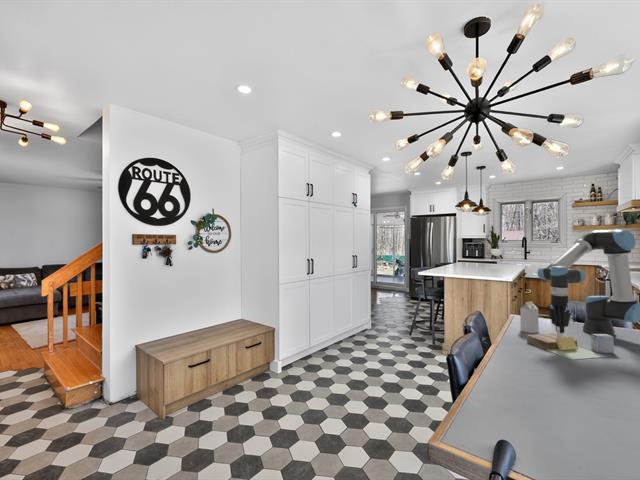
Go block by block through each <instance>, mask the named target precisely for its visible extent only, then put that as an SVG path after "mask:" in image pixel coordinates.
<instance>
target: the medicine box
mask: <svg viewBox="0 0 640 480" xmlns="http://www.w3.org/2000/svg"><path fill="white" fill-rule="evenodd" d="M590 335H591V336H590V339H591V342H590V343H591V344H590V345H591V351H592V352H594V353H597V354H601V353H602V354H604V353H605V354H607V353H608V354H609V353H610V354H613V353H614V352H615V350H614V349H615V347H614V343H615V342H614V341H615V340H614V339H615V338H614V336H611V335H608V334H590Z"/></svg>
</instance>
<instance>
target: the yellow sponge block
mask: <svg viewBox="0 0 640 480" xmlns="http://www.w3.org/2000/svg"><path fill="white" fill-rule="evenodd" d="M566 337H567V336H566ZM555 340H556V343H557V345H558V348H559V350H574V349H577V347H578V345H577V346H576V344H575V342H574V340H575V339H574V337H573V336H569V337H567V338H556V339H555Z"/></svg>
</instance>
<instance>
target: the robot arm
mask: <svg viewBox="0 0 640 480" xmlns="http://www.w3.org/2000/svg"><path fill="white" fill-rule="evenodd" d="M636 244H637V243H636V238H635V235H634V234H633V233H632V232H631V231H630V230H627V229H603V230H602V229H599V230H598V229H596V230H592V231H590V232H588V233H585V234H584V235H583V234H582V235H581V236H580V237H579V238H578V239H576V240H575V241H574V242H573V245H571V247H569V248H568V249H567V250H566V251H564V252H563V253H562V254H561V255H560V256H558V257H557V258H556V259H555V260H553V262H551V263H550V264H549V265H548V266H547V267H546V266H544V267H539V268H538V270H537V274H536V275H537V276H538V278H539V279H540V280H544V281H550V294H551V295H550V301H551V304H550V305H547V309H548V310H549V314H550V320H551V323H552V324H553V325H554V326H555V333H556V334H557V338H564V337H565V336H564V335H565V327H566V328H567V327H569V324H570V320H571V314H572V313H573V312H574V311H573V309H570V308H569V305H568V303H569V296H568V295H569V284H580V283H583V282H585V280H586V277H587V275H586V272H585V271H584V270H582V269H578V268H570V267H572V266H573V264H575V263H576V262H577V261H578V260H579V259H580V258H582V257H583V256H584V255H585V254H590V252H592V251H595V250H603V254H604V255H605V256H606V257H607V262H608V270H609V277H610V285H611V293H612V295H611V296H609V295H589V296H588V295H587V296H586V298H585V316H586V317H585V320H584V323H583V326H582V332H583V333H587V334H590V335H591V334H608V335H611V336H613V337H614V336H615V335H616V331H615V329H614V327H613V324H612V320H615V321H622V322H625V323H634V324H636V323H638V322H640V302H638V298H637V297H636V296H634V294H633V293H634V292H633V286H632V278H631V277H632V276H631V271H630V263H629V255H630V254H631V253H632V250H634V249H635V247H636Z"/></svg>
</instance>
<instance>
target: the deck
mask: <svg viewBox="0 0 640 480" xmlns="http://www.w3.org/2000/svg"><path fill="white" fill-rule="evenodd" d="M556 338H557V333H556V332H555V333H553V332H552V333H551V332H550V333H538V334H536V333H534V334H527V335H526V342H527V343H529V344H531V345H534V346H536V347H539V348H542V349H545V350H546V351H547V350H550V349H559V348H558V345H557V343H556V340H555V339H556ZM564 338H567V336H564ZM574 342H575V344H576V346H577V347H578V340H577V339H574Z"/></svg>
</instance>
